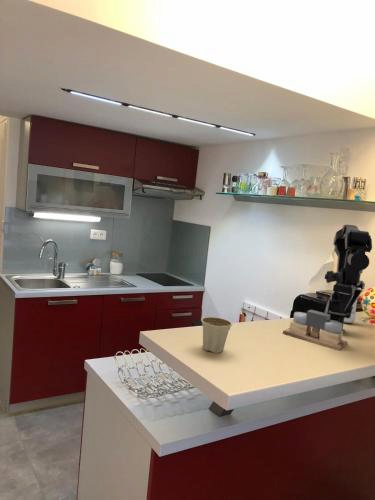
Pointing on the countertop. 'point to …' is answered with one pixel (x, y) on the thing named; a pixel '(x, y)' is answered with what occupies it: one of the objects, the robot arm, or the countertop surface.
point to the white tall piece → (352, 314)
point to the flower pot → (215, 333)
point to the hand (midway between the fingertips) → (345, 310)
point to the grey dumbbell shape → (318, 321)
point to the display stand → (316, 335)
